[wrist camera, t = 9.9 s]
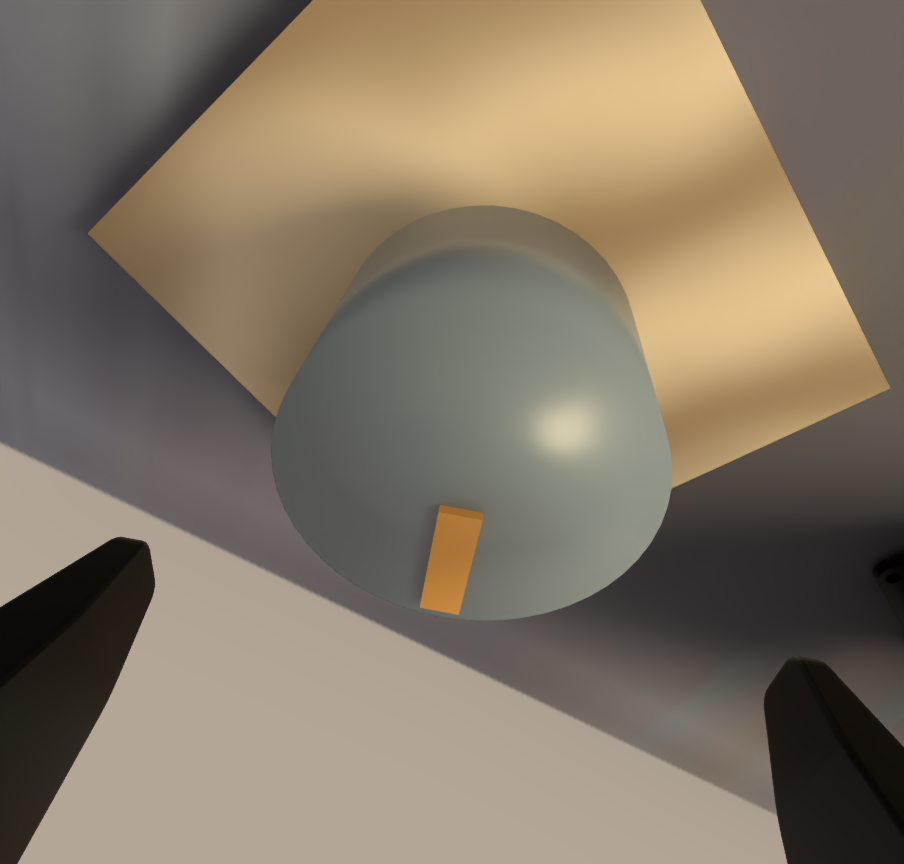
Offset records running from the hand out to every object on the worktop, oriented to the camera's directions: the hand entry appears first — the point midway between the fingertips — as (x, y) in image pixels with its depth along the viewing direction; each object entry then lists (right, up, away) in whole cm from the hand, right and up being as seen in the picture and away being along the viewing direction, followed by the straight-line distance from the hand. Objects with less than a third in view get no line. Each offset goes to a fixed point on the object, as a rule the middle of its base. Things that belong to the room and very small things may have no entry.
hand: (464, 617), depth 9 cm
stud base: (+1, +7, +10) cm, 12 cm away
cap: (+1, +4, +7) cm, 8 cm away
